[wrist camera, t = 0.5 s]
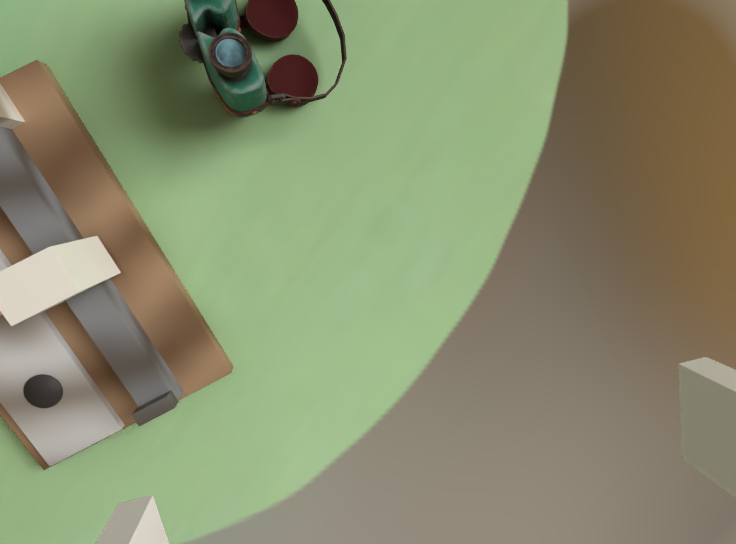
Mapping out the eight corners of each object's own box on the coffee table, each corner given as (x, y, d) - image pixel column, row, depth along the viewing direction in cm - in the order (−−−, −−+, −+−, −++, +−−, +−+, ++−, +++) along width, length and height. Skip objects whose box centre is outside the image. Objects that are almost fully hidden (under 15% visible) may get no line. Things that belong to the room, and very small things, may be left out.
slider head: (-31, 299, 32) (-109, 325, 26) (97, 235, 32) (49, 246, 26) (-4, 336, 32) (-74, 369, 26) (121, 272, 32) (79, 291, 27)
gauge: (-171, 171, 30) (-267, 168, 25) (46, 64, 31) (-5, 40, 26) (52, 460, 36) (10, 506, 31) (233, 366, 36) (221, 395, 31)
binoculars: (382, 58, 24) (198, 107, 23) (347, 100, 34) (217, 136, 33) (332, -129, 22) (126, -90, 21) (310, -27, 33) (171, 5, 31)
